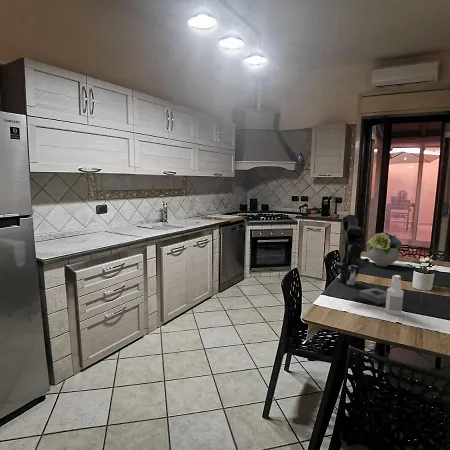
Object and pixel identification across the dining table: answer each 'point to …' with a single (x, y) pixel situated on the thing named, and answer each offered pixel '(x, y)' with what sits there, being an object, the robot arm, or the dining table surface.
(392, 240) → the flower arrangement
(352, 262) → the robot arm
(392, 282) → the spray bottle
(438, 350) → the dining table surface
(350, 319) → the dining table surface
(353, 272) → the peg
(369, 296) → the socket
